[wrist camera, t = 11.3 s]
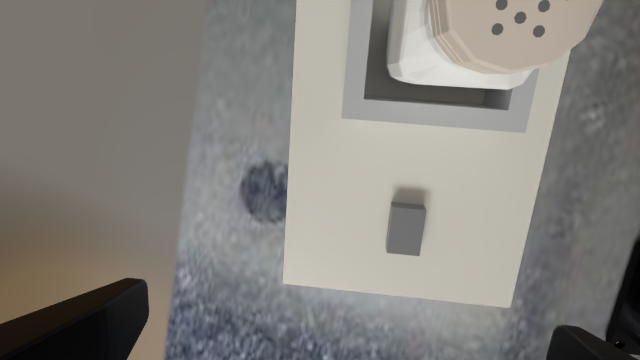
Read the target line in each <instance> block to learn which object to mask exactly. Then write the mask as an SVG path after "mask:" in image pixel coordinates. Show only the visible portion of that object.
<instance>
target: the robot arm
mask: <svg viewBox="0 0 640 360" xmlns="http://www.w3.org/2000/svg"><path fill="white" fill-rule="evenodd" d="M148 316H149V303H148V287H147V283H146V281H145V280H142V279H135V278H125V279H122V280H120V281H117V282H114V283H112V284H109V285H106V286H103V287H100V288H98V289H95V290H92V291H89V292H87V293H84V294H82V295H78V296H76V297H73V298H70V299H68V300H65V301H62V302H59V303H57V304H54V305H51V306H49V307H46V308H43V309H40V310H38V311H35V312H32V313H29V314H27V315H24V316H21V317H18V318H16V319H13V320H10V321H7V322H4V323H2V324H0V360H127V358H128V356H129V354H130V352H131V350H132V349H133V347H134V345H135V343H136V341H137V339H138V337H139V335H140V334H141V331H142V330H143V328H144V326H145V324H146V322H147V319H148ZM618 341H619V343H617V344H616V342H618ZM629 354H634V355H640V241H639V242H638V243H637V245H636V246H635V249H634V252H633V255H632V259H631V262H630V265H629V268H628V271H627V274H626V277H625V280H624V283H623V287H622V290H621V293H620V296H619V299H618V302H617V305H616V308H615V311H614V315H613V318H612V321H611V324H610V327H609V330H608V333H607V336H606V341H604V340H602V339H600V338H598V337H596V336H594V335H593V334H591V333H589V332H587V331H585V330H584V329H582V328H580V327H577V326H569V325H558V326H556V327H555V329H554V331H553V334H552V338H551V341H550V345H549V348H548V352H547V356H546V360H638V359H636V358H634V357H632V356H631V355H629Z"/></svg>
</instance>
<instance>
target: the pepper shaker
mask: <svg viewBox="0 0 640 360" xmlns="http://www.w3.org/2000/svg"><path fill="white" fill-rule="evenodd" d="M602 2H603V0H391V5H390V15H389V25H388V35H387V46H386V56H385V69H386V72H387V76H389V77H391V78H393V79H395V80H397V81H401V82H407V83H412V84H421V85H436V86H452V87H469V88H486V89H505V90H509V89H511V88H514V87H516V86H519V85H522V84H523V83H524V81H525V80H526V79H527V78H528V76H529V75H530V74H531V72H532V71H533V70H534V69H537V68H542V67H547V66H550V65H551V64H552V63H554V62H555V61H556V60H557V59H559V58H560V57H561V56H563V55H564V54H565V53H566V52H568V51H569V50H570V49H571V48H573V47H574V46H575V45H577V44H578V43H579V42H580V41H582V40H583V39H584V38H585V36H586V34H587V32H588V30H589V28H590V26H591V24H592V22H593V20H594V18H595V16H596V14H597V12H598V10H599V8H600V6H601V4H602Z"/></svg>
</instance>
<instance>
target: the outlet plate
mask: <svg viewBox="0 0 640 360" xmlns="http://www.w3.org/2000/svg"><path fill="white" fill-rule="evenodd" d="M390 5H391V0H297V6H296V27H295V47H294V68H293V88H292V108H291V129H290V149H289V169H288V190H287V210H286V230H285V251H284V271H283V284H291V285H300V286H310V287H319V288H328V289H338V290H347V291H356V292H366V293H375V294H384V295H394V296H403V297H412V298H422V299H431V300H440V301H450V302H459V303H468V304H478V305H487V306H496V307H506V308H510V306H511V302H512V297H513V293H514V289H515V285H516V280H517V276H518V272H519V268H520V263H521V259H522V255H523V251H524V246H525V242H526V238H527V234H528V229H529V225H530V221H531V217H532V212H533V208H534V204H535V200H536V195H537V191H538V187H539V183H540V178H541V174H542V170H543V166H544V161H545V157H546V153H547V149H548V144H549V140H550V136H551V132H552V127H553V123H554V119H555V115H556V110H557V106H558V102H559V98H560V93H561V89H562V85H563V81H564V76H565V72H566V68H567V64H568V59H569V55H570V51H571V49H570V50H569V51H568V52H566V53H565V54H564V55H563V56H561V57H560V58H559V59H557V60H556V61H555V62H554V63H552V64H551V65H550V66H547V67H542V68H537V69H534V70H533V71H532V72H531V74H530V75H529V76H528V78H527V79H526V80H525V81H524V83H523V84H522V85H519V86H516V87H514V88H511V89H509V90H505V89H486V88H469V87H452V86H436V85H421V84H412V83H407V82H401V81H397V80H395V79H393V78H391V77H389V76H387V72H386V69H385V56H386V46H387V35H388V25H389V15H390Z"/></svg>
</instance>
